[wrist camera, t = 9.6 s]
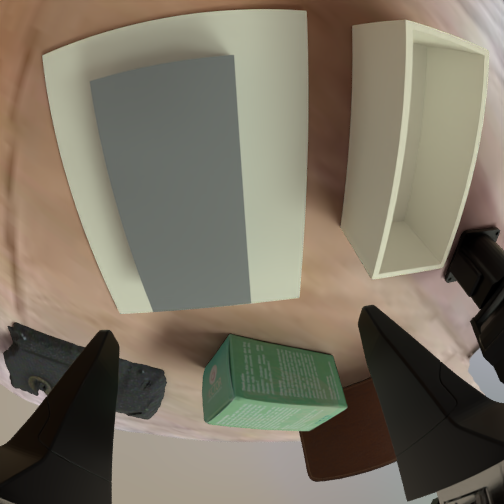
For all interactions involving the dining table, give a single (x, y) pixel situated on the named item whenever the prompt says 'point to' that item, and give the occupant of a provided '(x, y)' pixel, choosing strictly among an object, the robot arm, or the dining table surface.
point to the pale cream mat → (250, 132)
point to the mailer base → (410, 143)
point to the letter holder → (349, 438)
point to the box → (270, 387)
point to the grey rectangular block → (178, 179)
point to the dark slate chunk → (60, 359)
